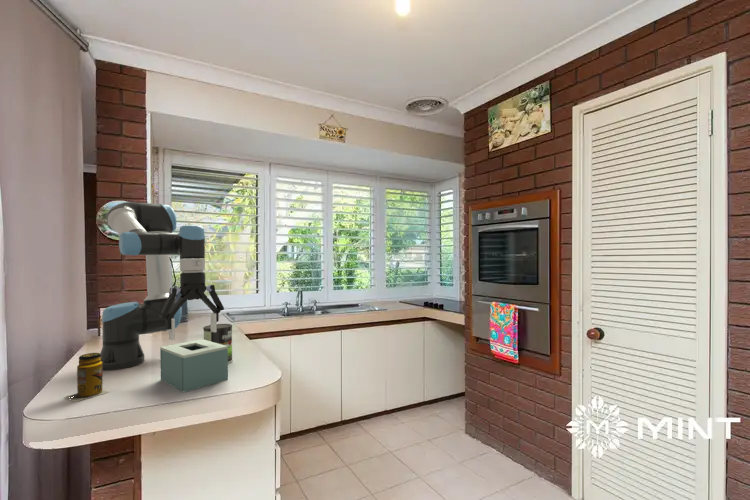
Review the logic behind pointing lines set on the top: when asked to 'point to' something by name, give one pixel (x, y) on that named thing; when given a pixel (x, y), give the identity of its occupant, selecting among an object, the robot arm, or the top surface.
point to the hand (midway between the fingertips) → (193, 335)
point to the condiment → (88, 377)
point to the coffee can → (220, 336)
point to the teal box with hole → (194, 364)
